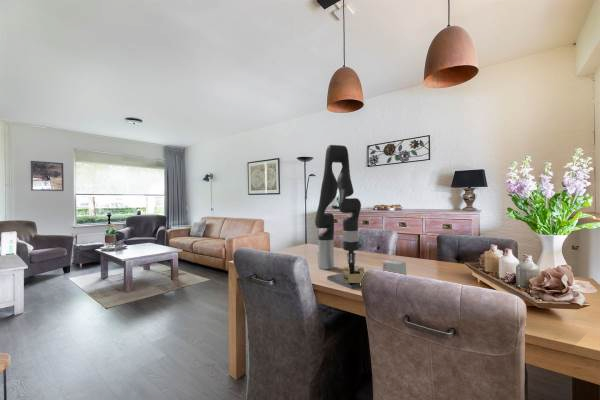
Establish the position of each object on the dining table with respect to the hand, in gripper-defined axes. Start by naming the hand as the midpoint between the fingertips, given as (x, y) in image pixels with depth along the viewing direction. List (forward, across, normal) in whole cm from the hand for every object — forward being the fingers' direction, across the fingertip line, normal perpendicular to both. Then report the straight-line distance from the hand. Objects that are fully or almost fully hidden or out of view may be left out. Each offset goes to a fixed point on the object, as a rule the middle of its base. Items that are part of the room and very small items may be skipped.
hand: (352, 275), depth 125 cm
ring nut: (+2, -6, +1) cm, 6 cm away
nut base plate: (+4, -7, -1) cm, 8 cm away
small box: (+5, +5, +19) cm, 20 cm away
